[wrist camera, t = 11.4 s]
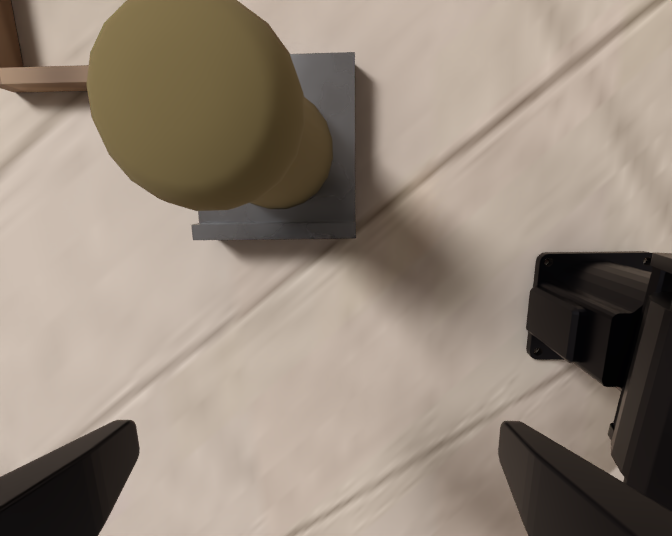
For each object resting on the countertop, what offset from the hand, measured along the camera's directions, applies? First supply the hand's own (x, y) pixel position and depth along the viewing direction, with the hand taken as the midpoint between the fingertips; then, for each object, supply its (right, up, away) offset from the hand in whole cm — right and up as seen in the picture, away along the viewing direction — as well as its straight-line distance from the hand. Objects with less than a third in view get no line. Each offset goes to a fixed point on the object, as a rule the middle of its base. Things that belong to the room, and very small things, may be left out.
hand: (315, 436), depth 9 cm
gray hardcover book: (-3, +11, +11) cm, 16 cm away
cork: (-3, +10, +10) cm, 14 cm away
